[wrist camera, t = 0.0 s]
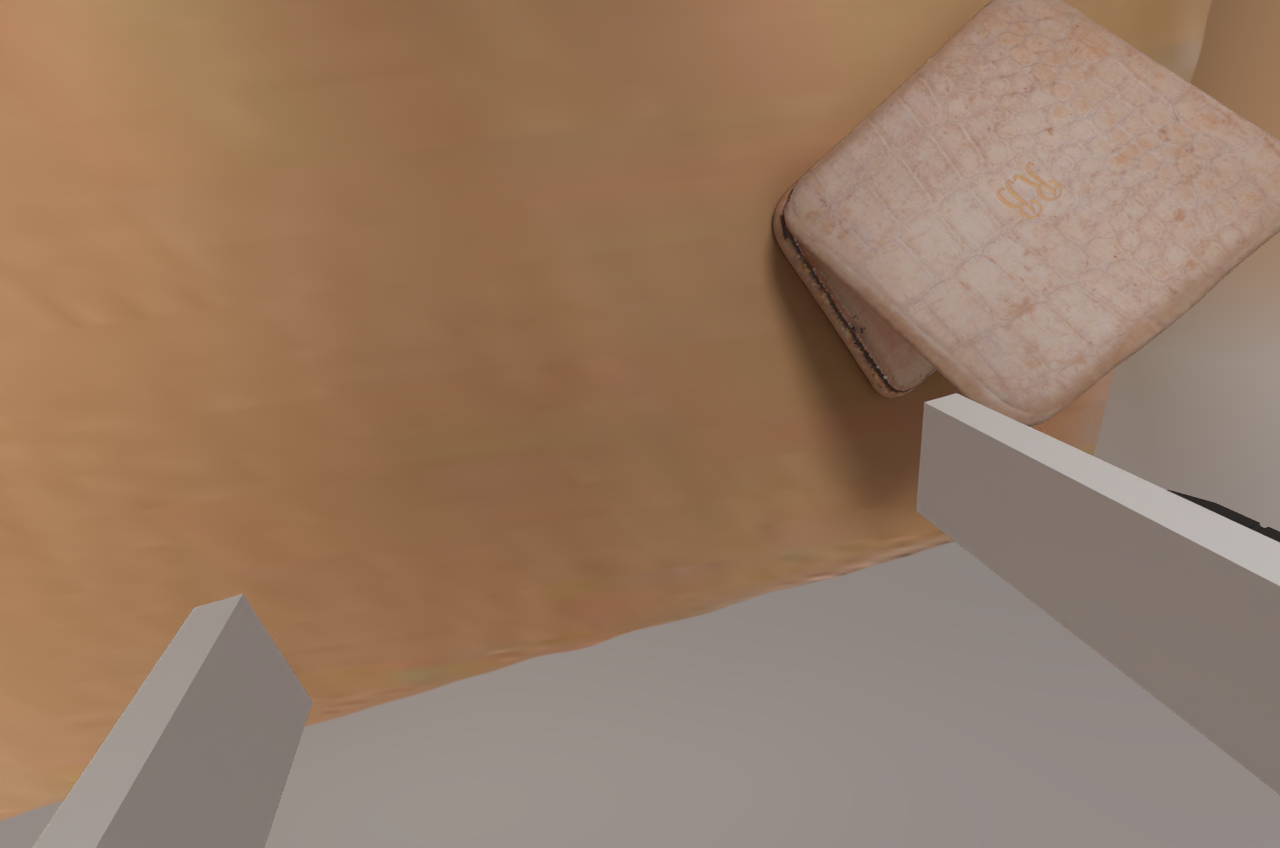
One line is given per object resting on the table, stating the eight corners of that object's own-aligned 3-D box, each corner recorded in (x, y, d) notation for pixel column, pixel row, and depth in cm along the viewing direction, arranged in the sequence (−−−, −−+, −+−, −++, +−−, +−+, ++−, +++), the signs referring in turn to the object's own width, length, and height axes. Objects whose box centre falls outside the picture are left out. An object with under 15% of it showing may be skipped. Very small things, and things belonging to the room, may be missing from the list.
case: (991, -18, 35) (1326, -145, 21) (1077, 240, 45) (1347, 271, 31) (747, 205, 37) (903, 225, 23) (879, 406, 47) (1046, 508, 33)
